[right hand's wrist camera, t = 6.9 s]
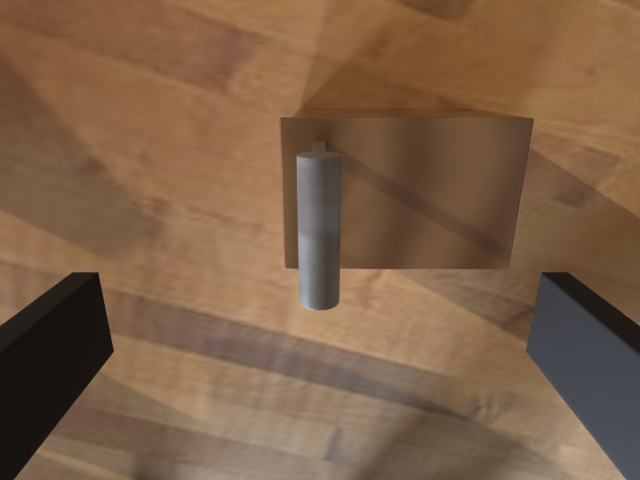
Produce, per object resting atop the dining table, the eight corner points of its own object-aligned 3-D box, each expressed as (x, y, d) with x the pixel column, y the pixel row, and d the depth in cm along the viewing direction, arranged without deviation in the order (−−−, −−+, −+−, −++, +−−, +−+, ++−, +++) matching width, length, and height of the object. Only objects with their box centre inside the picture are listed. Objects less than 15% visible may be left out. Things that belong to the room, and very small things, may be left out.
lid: (285, 263, 28) (271, 331, 20) (280, 117, 25) (262, 130, 17) (502, 264, 28) (572, 331, 20) (526, 117, 25) (620, 130, 17)
